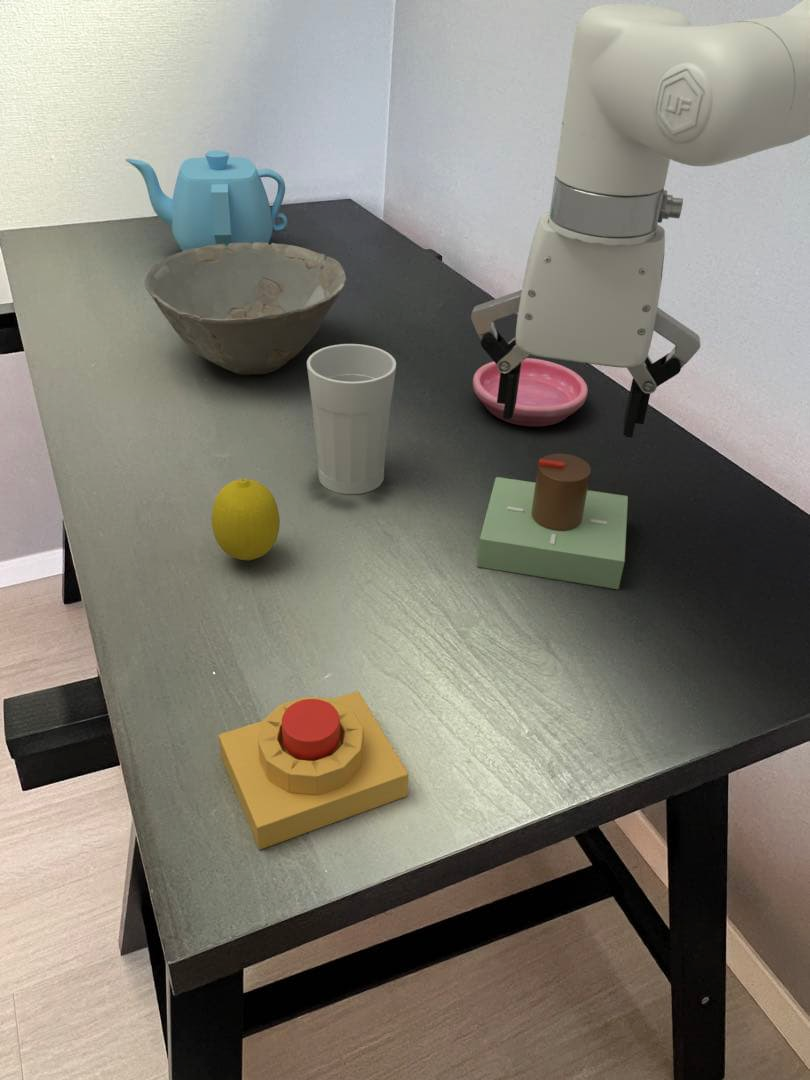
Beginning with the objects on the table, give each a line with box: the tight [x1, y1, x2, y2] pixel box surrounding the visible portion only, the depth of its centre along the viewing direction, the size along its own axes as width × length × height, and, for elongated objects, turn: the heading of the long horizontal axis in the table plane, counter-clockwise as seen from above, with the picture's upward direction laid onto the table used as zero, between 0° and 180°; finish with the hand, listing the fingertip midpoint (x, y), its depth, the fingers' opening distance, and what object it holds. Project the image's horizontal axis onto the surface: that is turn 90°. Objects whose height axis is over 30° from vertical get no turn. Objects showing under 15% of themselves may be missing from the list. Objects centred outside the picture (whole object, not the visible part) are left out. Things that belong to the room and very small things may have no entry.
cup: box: [306, 343, 397, 495], centre depth 88 cm, size 8×8×12 cm
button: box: [282, 699, 340, 760], centre depth 59 cm, size 4×4×2 cm
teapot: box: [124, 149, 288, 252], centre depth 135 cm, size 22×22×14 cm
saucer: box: [472, 357, 589, 427], centre depth 103 cm, size 12×12×3 cm
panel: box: [476, 476, 629, 590], centre depth 83 cm, size 12×10×3 cm
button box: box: [217, 690, 409, 851], centre depth 61 cm, size 10×8×4 cm
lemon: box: [211, 477, 281, 561], centre depth 78 cm, size 6×6×8 cm
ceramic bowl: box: [144, 242, 347, 376], centre depth 109 cm, size 22×23×10 cm
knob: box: [531, 453, 592, 530], centre depth 80 cm, size 4×4×5 cm
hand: (568, 420), depth 77 cm, fingers open, 9 cm apart
